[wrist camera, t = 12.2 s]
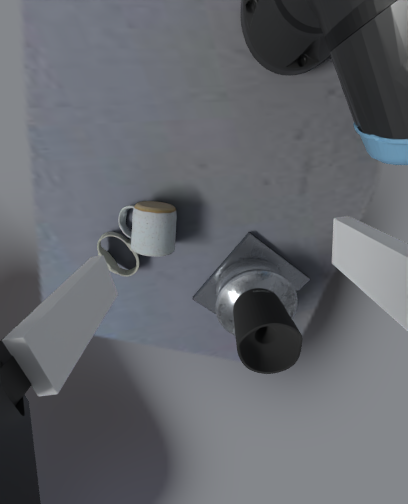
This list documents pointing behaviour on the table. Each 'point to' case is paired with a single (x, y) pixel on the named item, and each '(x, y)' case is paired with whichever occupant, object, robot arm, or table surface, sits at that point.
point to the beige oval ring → (110, 260)
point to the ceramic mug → (151, 228)
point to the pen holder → (265, 332)
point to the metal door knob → (250, 280)
